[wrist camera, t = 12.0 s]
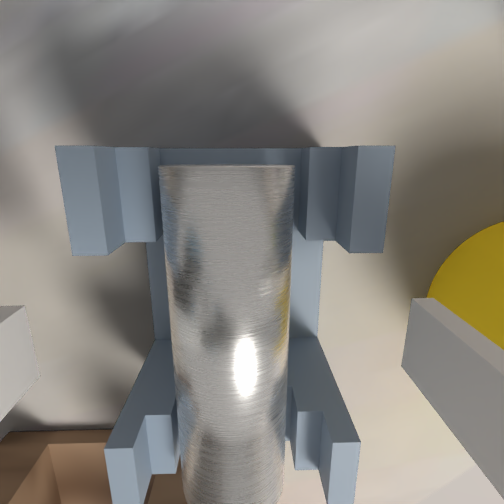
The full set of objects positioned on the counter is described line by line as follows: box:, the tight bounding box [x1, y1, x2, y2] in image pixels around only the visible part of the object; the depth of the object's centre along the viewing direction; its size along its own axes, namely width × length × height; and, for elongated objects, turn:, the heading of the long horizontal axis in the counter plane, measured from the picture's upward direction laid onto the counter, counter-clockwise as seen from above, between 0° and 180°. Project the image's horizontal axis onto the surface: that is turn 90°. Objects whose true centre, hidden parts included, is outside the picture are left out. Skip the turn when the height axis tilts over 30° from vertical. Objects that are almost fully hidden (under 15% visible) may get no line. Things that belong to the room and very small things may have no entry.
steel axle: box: [158, 164, 295, 504], centre depth 11 cm, size 12×4×4 cm, turn 0°
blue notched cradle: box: [55, 146, 395, 504], centre depth 14 cm, size 9×13×8 cm
